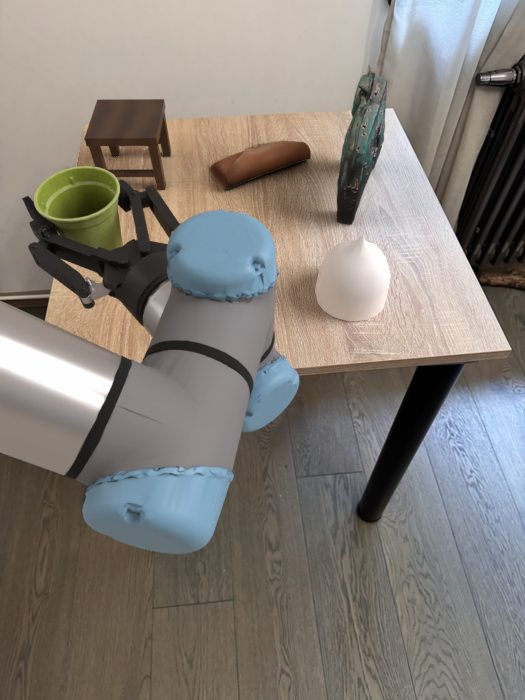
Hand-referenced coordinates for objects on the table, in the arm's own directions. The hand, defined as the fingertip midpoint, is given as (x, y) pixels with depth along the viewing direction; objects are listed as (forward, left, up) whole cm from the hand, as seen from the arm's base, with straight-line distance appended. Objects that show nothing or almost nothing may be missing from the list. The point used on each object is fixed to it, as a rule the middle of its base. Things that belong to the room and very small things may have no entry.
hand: (64, 190), depth 60 cm
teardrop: (+37, +2, -21) cm, 43 cm away
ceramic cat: (+40, +26, -21) cm, 52 cm away
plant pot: (+3, -4, -6) cm, 8 cm away
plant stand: (0, +33, -21) cm, 39 cm away
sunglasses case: (+23, +34, -21) cm, 46 cm away
